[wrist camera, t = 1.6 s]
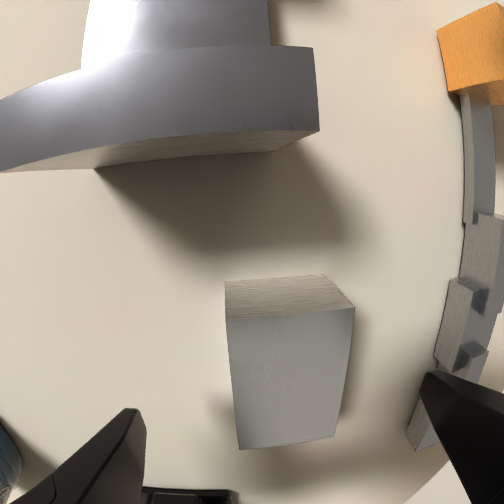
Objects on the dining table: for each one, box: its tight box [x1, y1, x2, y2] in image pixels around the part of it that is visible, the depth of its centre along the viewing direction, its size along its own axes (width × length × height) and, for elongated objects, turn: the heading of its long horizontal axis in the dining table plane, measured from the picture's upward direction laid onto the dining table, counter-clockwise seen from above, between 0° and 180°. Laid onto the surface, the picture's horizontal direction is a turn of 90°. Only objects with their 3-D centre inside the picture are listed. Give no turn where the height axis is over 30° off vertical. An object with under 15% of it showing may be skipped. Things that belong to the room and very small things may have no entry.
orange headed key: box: [405, 2, 504, 451], centre depth 9 cm, size 21×3×4 cm, turn 3°
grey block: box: [225, 274, 355, 450], centre depth 10 cm, size 6×4×3 cm, turn 2°
